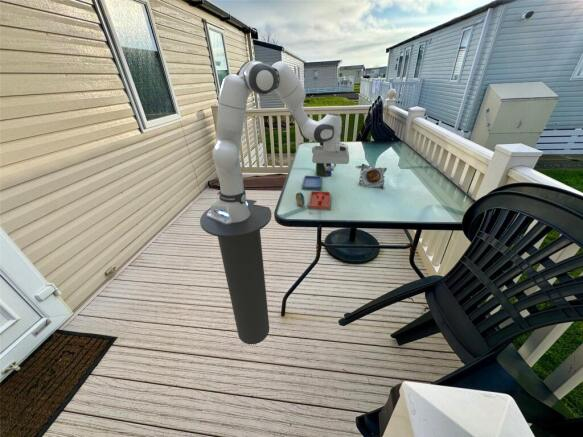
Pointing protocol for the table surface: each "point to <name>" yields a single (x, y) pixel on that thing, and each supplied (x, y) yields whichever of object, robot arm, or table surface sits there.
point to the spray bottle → (321, 168)
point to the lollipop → (300, 199)
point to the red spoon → (320, 198)
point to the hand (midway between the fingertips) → (329, 170)
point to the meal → (372, 176)
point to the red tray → (314, 200)
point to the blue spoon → (329, 170)
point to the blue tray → (312, 182)
